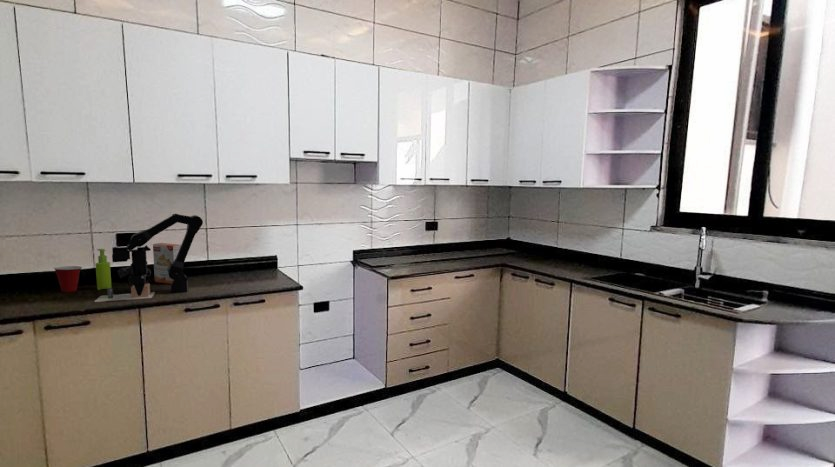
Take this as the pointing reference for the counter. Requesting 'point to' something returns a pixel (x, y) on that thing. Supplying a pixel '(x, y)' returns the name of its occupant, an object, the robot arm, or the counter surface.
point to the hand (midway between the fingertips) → (141, 293)
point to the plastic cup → (68, 277)
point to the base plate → (121, 297)
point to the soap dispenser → (103, 271)
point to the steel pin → (110, 292)
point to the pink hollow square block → (144, 293)
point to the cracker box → (164, 260)
